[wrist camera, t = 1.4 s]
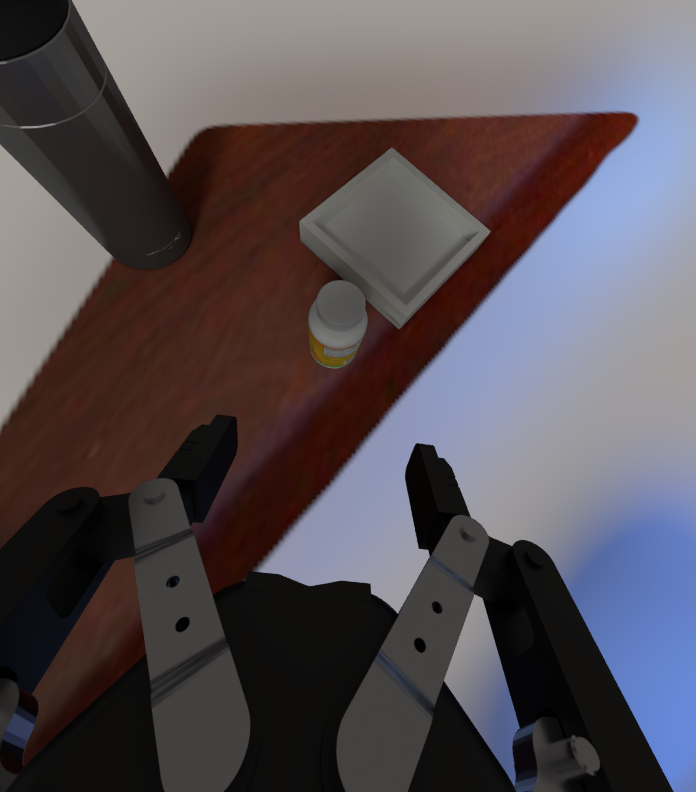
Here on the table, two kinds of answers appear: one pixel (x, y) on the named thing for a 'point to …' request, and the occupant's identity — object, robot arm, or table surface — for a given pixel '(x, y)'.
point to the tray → (392, 235)
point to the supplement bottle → (337, 324)
